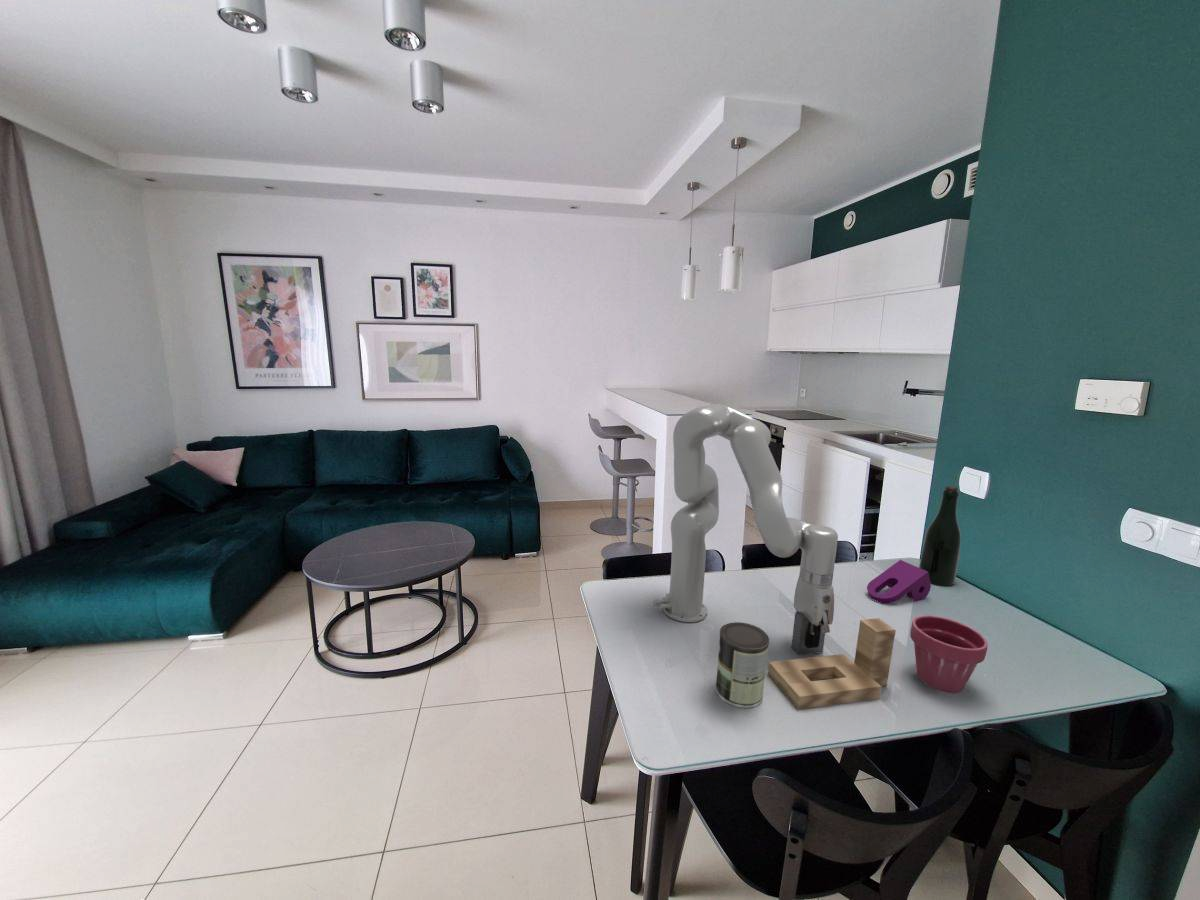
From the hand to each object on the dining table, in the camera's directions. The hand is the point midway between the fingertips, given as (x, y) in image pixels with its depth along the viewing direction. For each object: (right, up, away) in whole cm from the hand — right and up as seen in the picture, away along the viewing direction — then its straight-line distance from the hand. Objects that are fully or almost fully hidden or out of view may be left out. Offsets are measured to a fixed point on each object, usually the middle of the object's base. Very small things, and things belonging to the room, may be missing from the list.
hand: (807, 642), depth 125 cm
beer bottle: (+62, +4, +44) cm, 76 cm away
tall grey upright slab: (0, -2, 0) cm, 2 cm away
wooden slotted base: (0, -5, -13) cm, 13 cm away
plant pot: (+27, -5, -10) cm, 29 cm away
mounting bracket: (+40, +2, +31) cm, 51 cm away
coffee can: (-22, -5, -16) cm, 28 cm away
